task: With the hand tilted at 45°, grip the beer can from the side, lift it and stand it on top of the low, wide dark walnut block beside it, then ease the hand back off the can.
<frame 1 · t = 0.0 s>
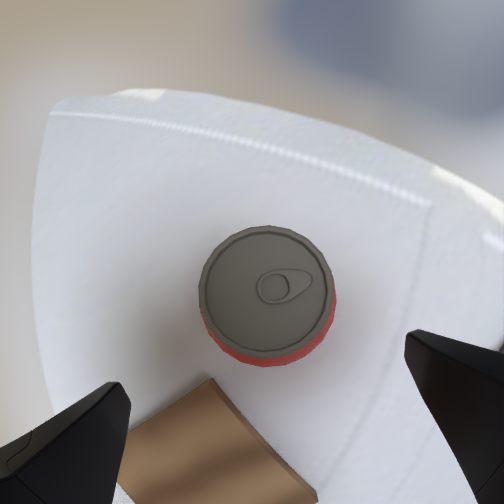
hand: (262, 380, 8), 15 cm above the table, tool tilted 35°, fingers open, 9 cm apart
walnut block: (203, 476, 19), on the table
beer can: (272, 317, 23), on the table
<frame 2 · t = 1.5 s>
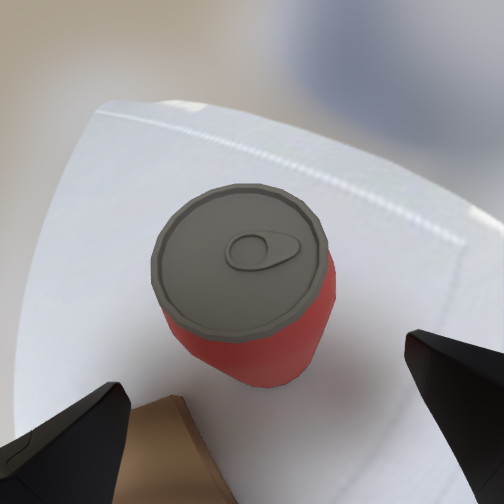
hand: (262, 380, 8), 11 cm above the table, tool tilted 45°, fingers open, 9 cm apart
walnut block: (145, 503, 13), on the table
beer can: (267, 341, 19), on the table
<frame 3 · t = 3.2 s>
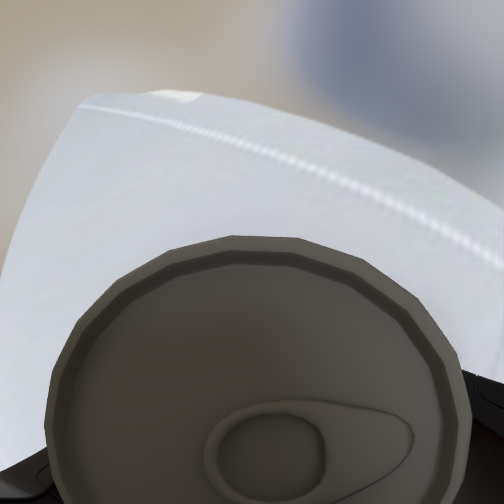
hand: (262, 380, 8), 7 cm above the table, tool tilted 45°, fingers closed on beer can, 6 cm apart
beer can: (278, 415, 13), on the table, touching gripper
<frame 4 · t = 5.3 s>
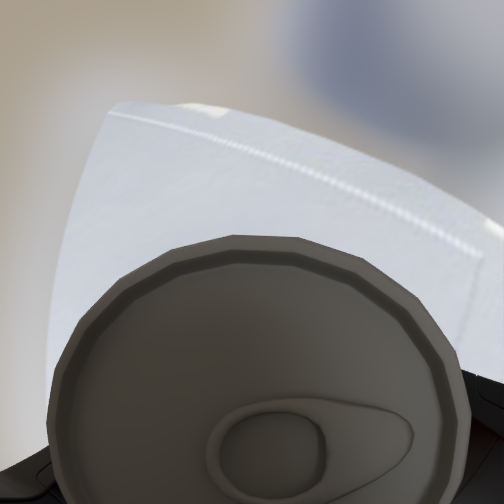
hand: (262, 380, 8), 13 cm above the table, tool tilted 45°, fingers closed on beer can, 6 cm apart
beer can: (279, 414, 13), point 6 cm above the table, touching gripper
when the fingers open (10 cm above the table, at t = 7.6 s): beer can drops 1 cm, resting on walnut block.
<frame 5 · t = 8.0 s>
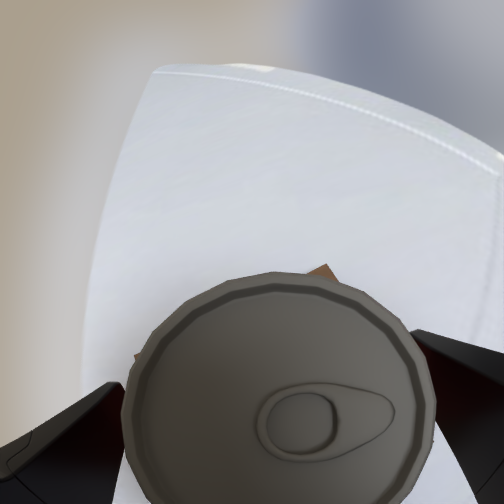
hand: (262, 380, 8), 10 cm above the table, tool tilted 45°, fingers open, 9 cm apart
beer can: (282, 414, 14), point 2 cm above the table, touching walnut block
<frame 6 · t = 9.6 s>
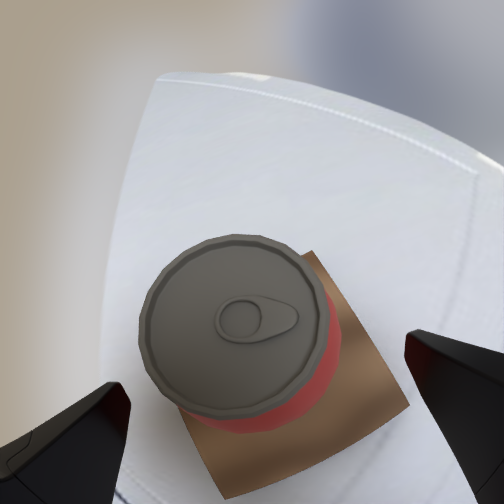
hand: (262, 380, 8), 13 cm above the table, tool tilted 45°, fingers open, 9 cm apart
walnut block: (275, 378, 20), on the table, touching beer can
beer can: (276, 375, 18), point 2 cm above the table, touching walnut block
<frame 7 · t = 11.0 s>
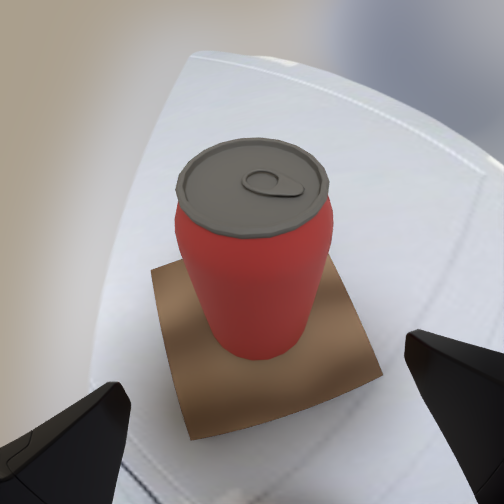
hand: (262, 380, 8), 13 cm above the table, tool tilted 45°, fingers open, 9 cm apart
walnut block: (259, 330, 22), on the table, touching beer can
beer can: (258, 319, 20), point 2 cm above the table, touching walnut block
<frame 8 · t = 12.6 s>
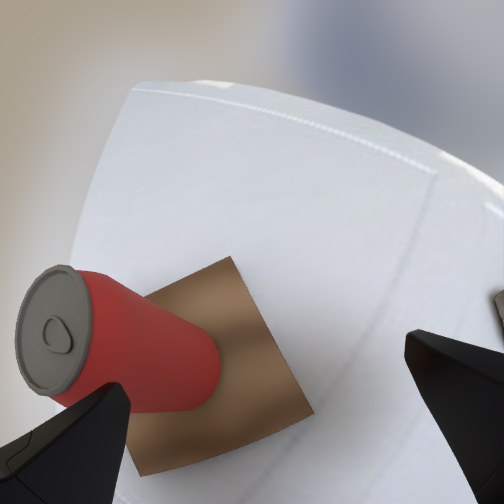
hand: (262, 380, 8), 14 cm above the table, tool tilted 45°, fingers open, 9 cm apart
walnut block: (193, 373, 22), on the table, touching beer can
beer can: (182, 367, 19), point 2 cm above the table, touching walnut block
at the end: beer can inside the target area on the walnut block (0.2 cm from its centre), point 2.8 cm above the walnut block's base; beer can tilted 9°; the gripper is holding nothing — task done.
